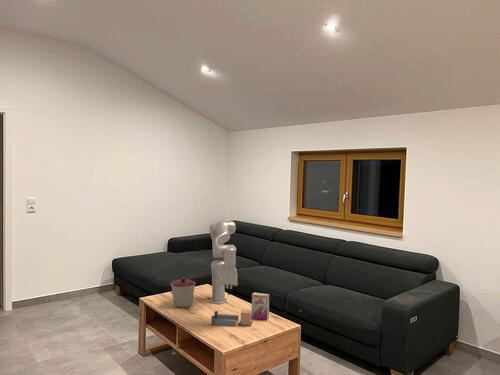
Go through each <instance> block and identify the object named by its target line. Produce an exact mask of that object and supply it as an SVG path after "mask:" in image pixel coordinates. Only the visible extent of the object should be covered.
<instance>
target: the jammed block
mask: <svg viewBox="0 0 500 375" xmlns="http://www.w3.org/2000/svg"><path fill="white" fill-rule="evenodd" d="M240 321H241V325H250V324H251V321H252V309H241V310H240ZM251 325H252V324H251Z"/></svg>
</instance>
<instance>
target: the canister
mask: <svg viewBox="0 0 500 375" xmlns="http://www.w3.org/2000/svg"><path fill="white" fill-rule="evenodd" d="M170 286H171V292H172V300H173V304H174V306H175V307H177V308H188V307H190V306H192V304H193V301H194V295H195V294H194V293H195V286H196V282H195V281H194V280H192V279H189V278H188V279H186V277H185V276H182V277H180V279H177V280H174V281H172V282H171V283H170Z"/></svg>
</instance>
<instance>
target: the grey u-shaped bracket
mask: <svg viewBox="0 0 500 375" xmlns="http://www.w3.org/2000/svg"><path fill="white" fill-rule="evenodd" d="M213 313H214V315H211V318H210V319H211V324H210V325H211V326H220V327H222V326H224V327H237V322H239V320H240V319H239V314H229V313H219V310H214V312H213Z"/></svg>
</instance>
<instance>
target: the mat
mask: <svg viewBox="0 0 500 375" xmlns="http://www.w3.org/2000/svg"><path fill="white" fill-rule="evenodd" d="M252 324H253V320H251V324H250V325H241V320H240V321H239V324H238V327H245V328H247V327H248V328H250V327H252Z"/></svg>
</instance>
